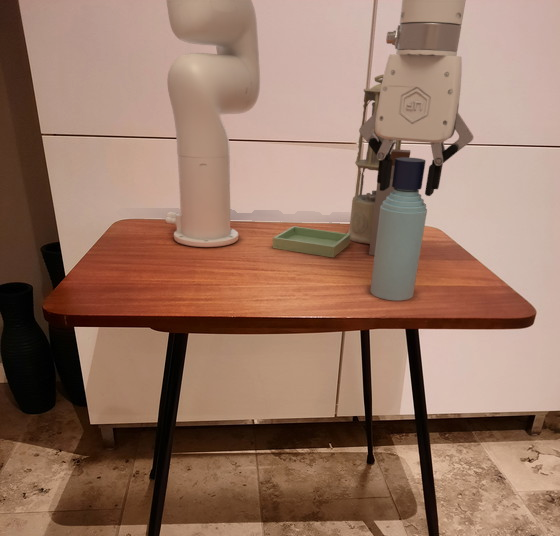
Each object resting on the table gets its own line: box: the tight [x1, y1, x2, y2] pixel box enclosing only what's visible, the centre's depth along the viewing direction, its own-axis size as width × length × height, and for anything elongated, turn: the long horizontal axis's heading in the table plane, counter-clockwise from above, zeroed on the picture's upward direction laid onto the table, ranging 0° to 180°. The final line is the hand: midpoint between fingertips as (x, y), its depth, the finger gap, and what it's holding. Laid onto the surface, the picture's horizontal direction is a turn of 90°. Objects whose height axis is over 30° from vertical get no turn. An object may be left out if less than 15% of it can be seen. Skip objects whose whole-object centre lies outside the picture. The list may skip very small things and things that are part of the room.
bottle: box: [369, 188, 428, 302], centre depth 80 cm, size 7×7×19 cm
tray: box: [272, 225, 351, 258], centre depth 105 cm, size 12×10×2 cm
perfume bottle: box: [368, 148, 411, 256], centre depth 100 cm, size 7×7×18 cm
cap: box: [392, 157, 427, 191], centre depth 76 cm, size 4×4×4 cm
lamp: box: [346, 73, 402, 245], centre depth 106 cm, size 10×13×30 cm
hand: (406, 190), depth 77 cm, fingers open, 5 cm apart
